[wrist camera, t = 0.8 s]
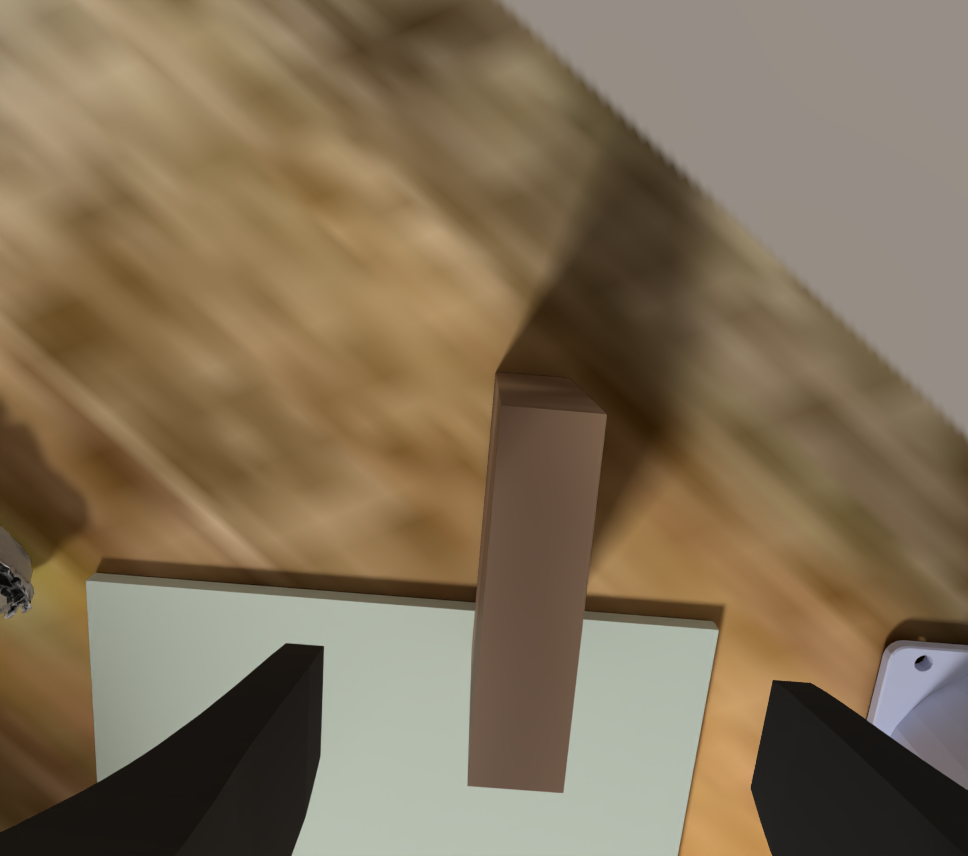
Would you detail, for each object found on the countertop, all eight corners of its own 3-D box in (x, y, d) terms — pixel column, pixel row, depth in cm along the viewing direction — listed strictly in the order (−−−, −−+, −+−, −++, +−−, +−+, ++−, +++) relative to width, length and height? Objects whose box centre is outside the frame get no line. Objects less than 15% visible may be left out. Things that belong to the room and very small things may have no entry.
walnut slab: (569, 378, 20) (607, 414, 14) (540, 654, 21) (563, 793, 15) (495, 371, 20) (501, 405, 14) (471, 648, 21) (467, 786, 15)
